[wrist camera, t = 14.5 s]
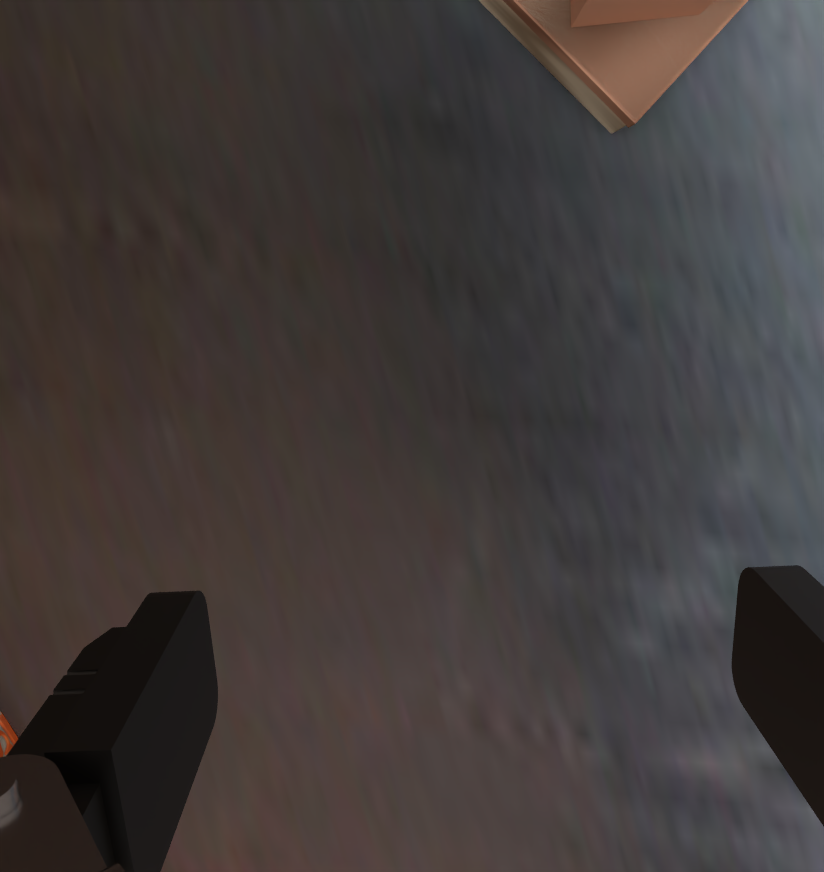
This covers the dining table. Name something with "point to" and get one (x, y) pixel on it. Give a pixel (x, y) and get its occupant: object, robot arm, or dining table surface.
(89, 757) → the robot arm
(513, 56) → the dining table surface
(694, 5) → the terracotta block
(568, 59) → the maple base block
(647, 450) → the dining table surface
